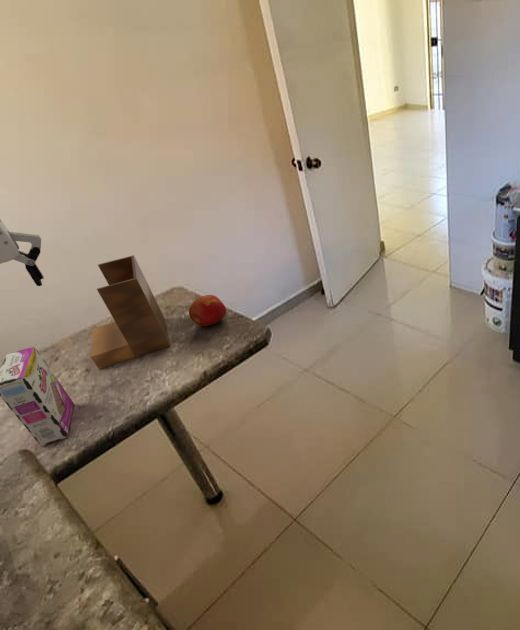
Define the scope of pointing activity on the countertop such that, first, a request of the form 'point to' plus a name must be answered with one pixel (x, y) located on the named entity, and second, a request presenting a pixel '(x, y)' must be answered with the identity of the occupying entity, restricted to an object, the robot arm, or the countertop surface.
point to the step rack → (127, 316)
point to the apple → (207, 310)
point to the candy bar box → (36, 396)
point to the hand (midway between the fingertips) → (7, 293)
